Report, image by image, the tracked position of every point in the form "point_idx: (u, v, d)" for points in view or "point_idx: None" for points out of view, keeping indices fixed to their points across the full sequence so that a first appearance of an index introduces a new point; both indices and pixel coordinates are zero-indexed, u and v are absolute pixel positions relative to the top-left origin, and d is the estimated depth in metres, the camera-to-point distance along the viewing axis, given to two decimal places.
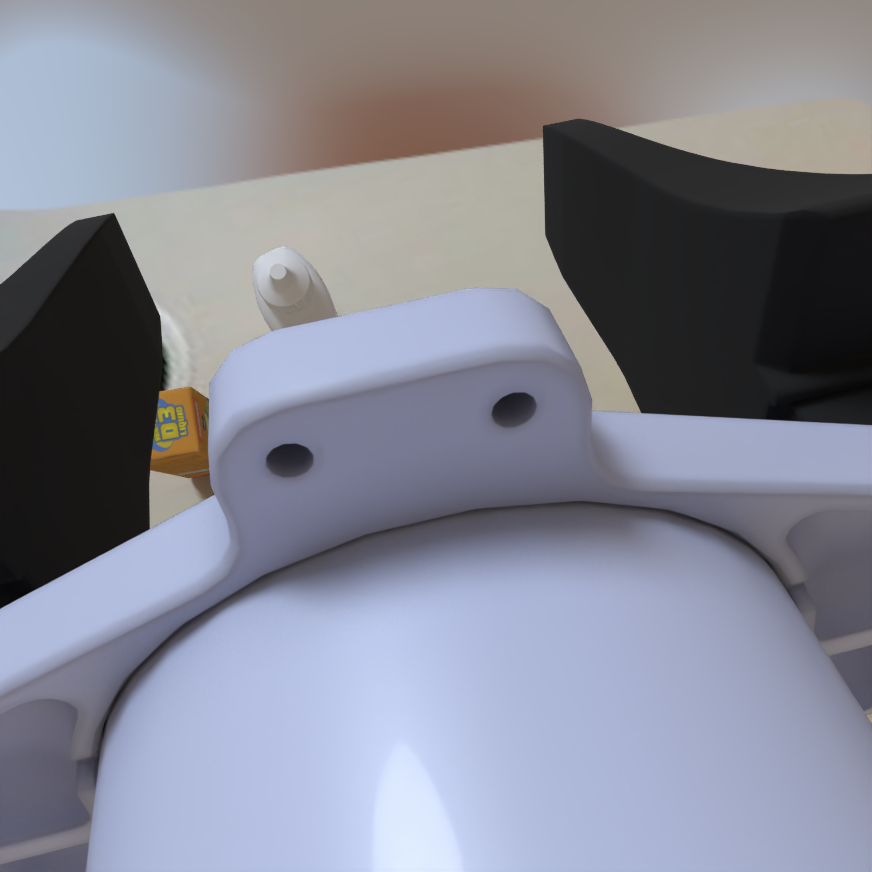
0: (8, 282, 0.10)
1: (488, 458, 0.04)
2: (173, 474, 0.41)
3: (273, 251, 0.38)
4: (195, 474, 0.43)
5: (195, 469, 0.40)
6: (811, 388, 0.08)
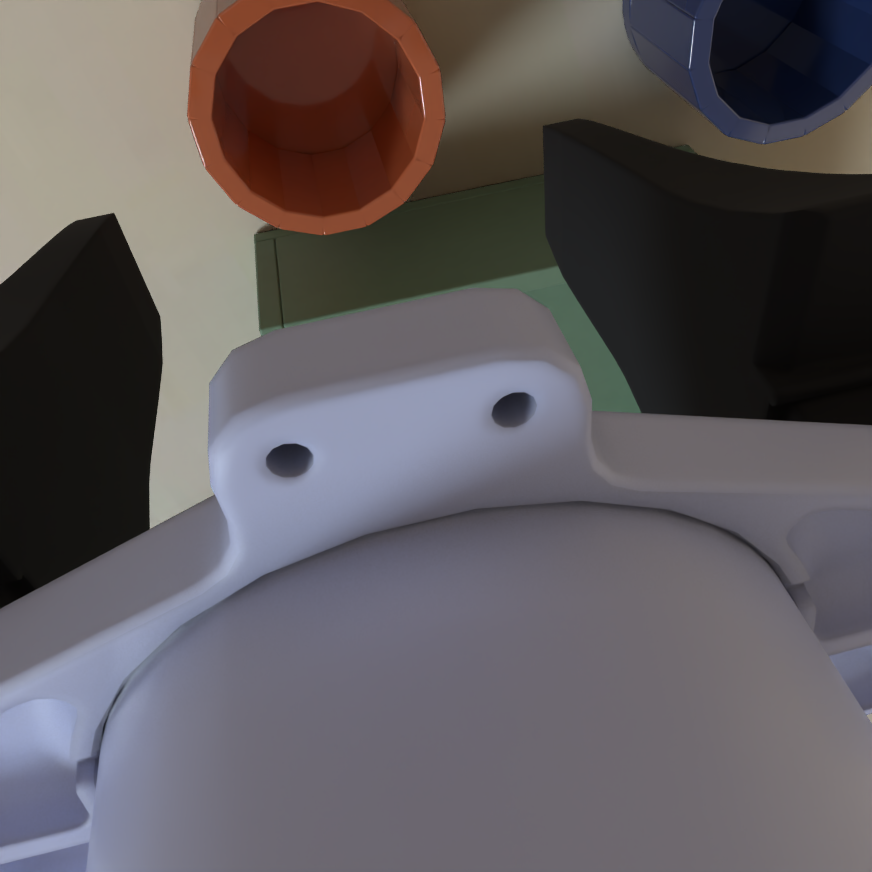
0: (8, 282, 0.10)
1: (488, 458, 0.04)
2: None
3: None
4: None
5: None
6: (811, 388, 0.08)
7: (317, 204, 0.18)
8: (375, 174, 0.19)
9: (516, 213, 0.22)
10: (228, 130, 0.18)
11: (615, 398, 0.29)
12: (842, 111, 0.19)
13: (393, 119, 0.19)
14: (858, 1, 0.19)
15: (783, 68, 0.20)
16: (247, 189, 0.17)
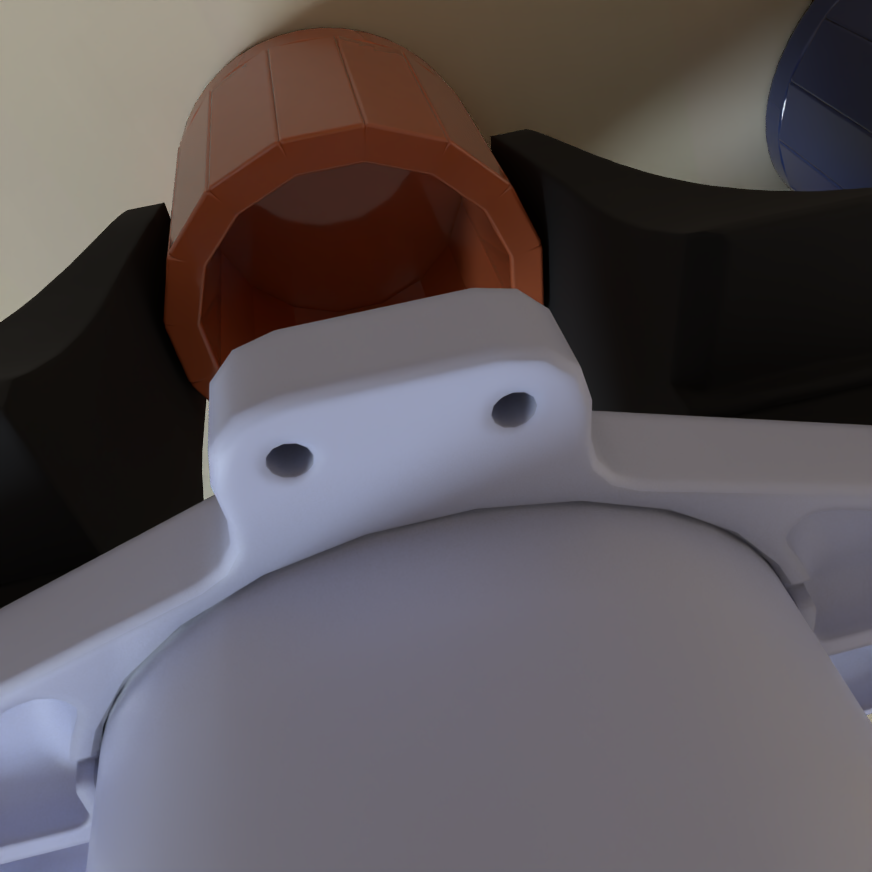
0: (70, 269, 0.10)
1: (488, 459, 0.04)
2: None
3: None
4: None
5: None
6: (726, 407, 0.08)
7: None
8: None
9: None
10: (225, 307, 0.13)
11: None
12: None
13: (455, 276, 0.14)
14: None
15: None
16: None
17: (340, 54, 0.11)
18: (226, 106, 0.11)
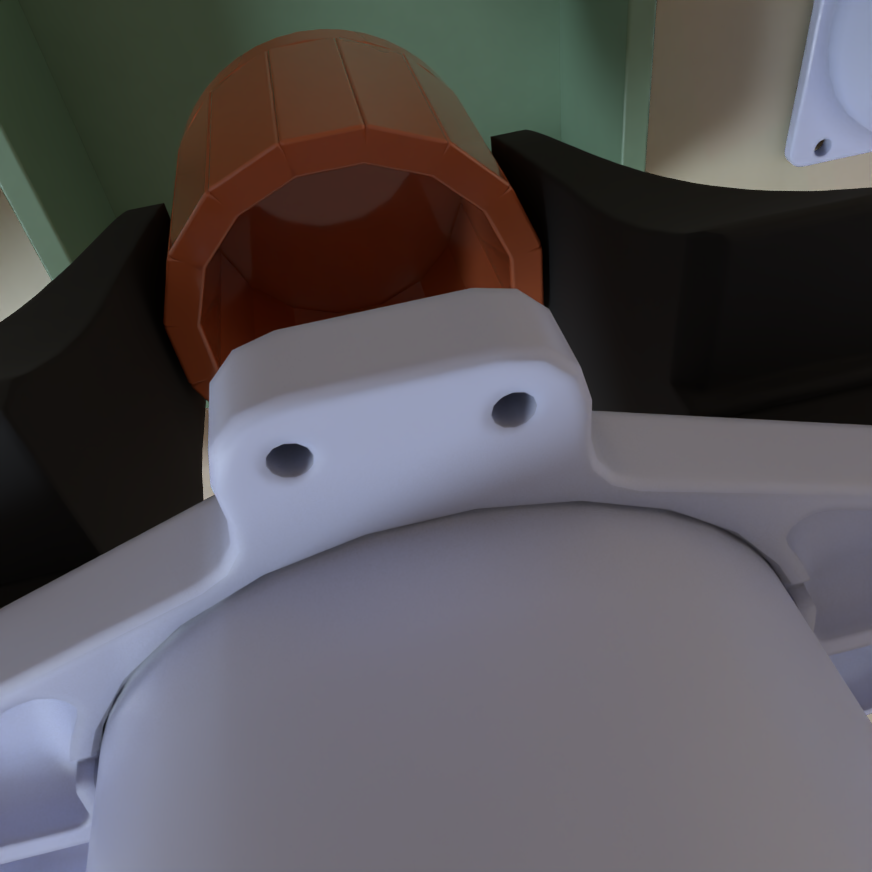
0: (70, 269, 0.10)
1: (488, 459, 0.04)
2: None
3: None
4: None
5: None
6: (726, 408, 0.08)
7: None
8: None
9: None
10: (225, 309, 0.13)
11: None
12: None
13: (455, 277, 0.14)
14: None
15: None
16: None
17: (340, 55, 0.11)
18: (226, 107, 0.11)
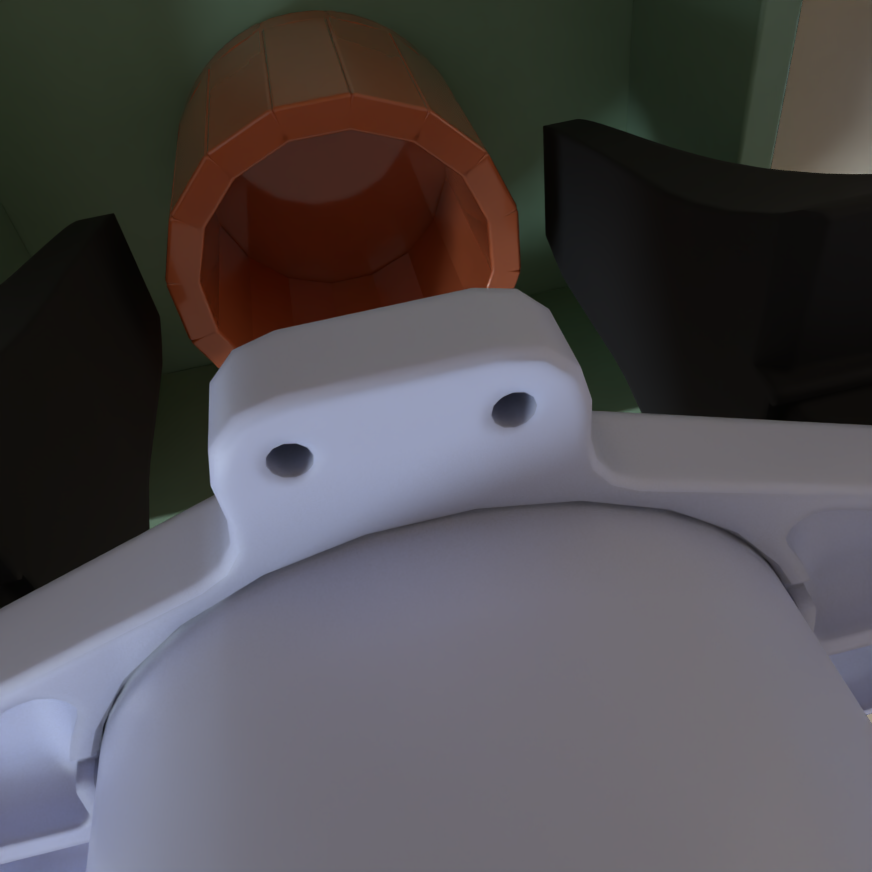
0: (8, 282, 0.10)
1: (488, 458, 0.04)
2: None
3: None
4: None
5: None
6: (811, 388, 0.08)
7: None
8: None
9: None
10: (223, 274, 0.14)
11: None
12: None
13: (440, 247, 0.15)
14: None
15: None
16: None
17: (330, 33, 0.12)
18: (223, 81, 0.12)
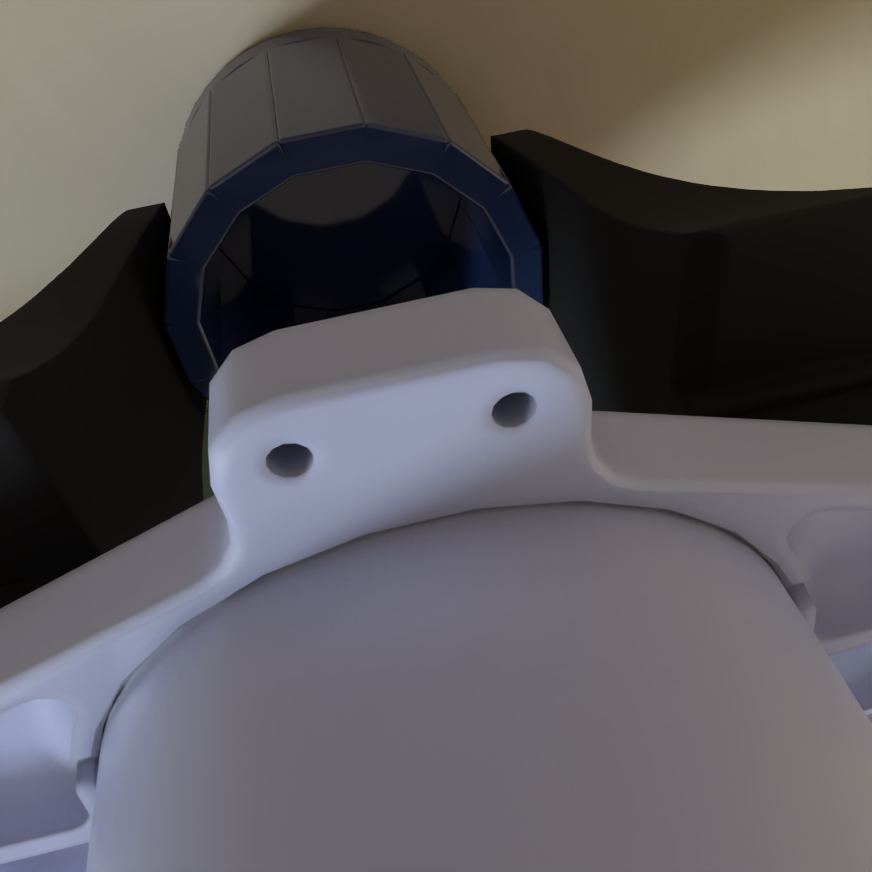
0: (70, 269, 0.10)
1: (488, 458, 0.04)
2: None
3: None
4: None
5: None
6: (726, 408, 0.08)
7: None
8: None
9: None
10: None
11: None
12: None
13: None
14: (488, 252, 0.13)
15: None
16: None
17: None
18: None
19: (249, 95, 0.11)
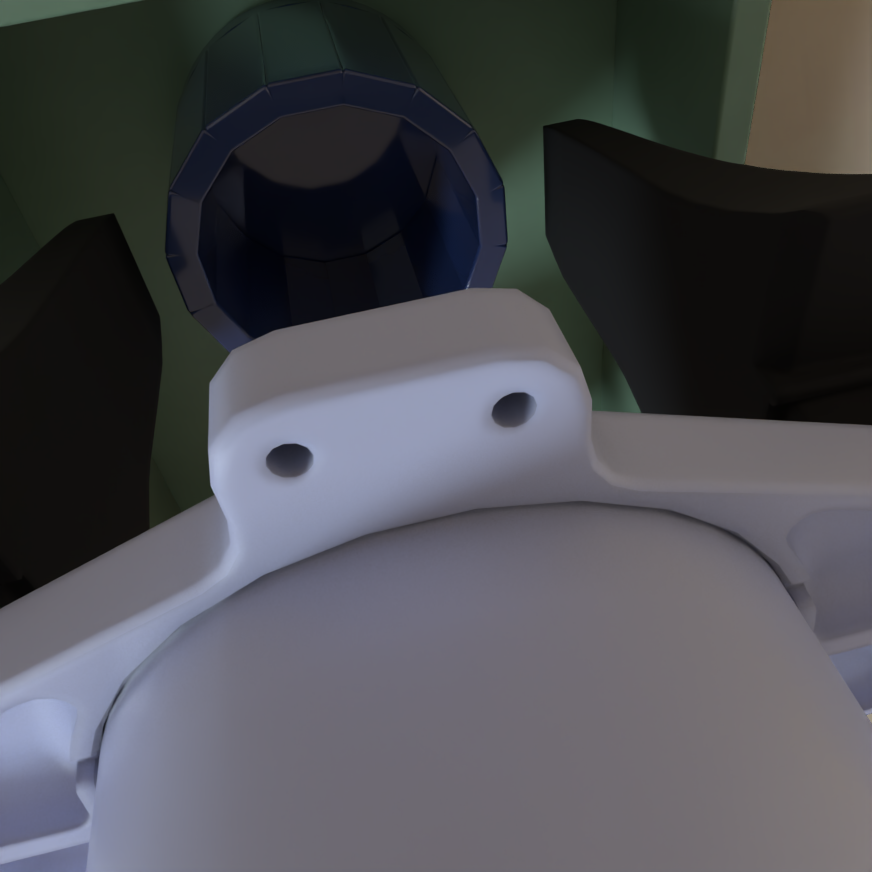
0: (8, 282, 0.10)
1: (487, 458, 0.04)
2: None
3: None
4: None
5: None
6: (811, 388, 0.08)
7: None
8: None
9: None
10: None
11: (547, 293, 0.19)
12: None
13: None
14: (459, 198, 0.14)
15: (404, 266, 0.15)
16: None
17: None
18: None
19: (242, 51, 0.12)
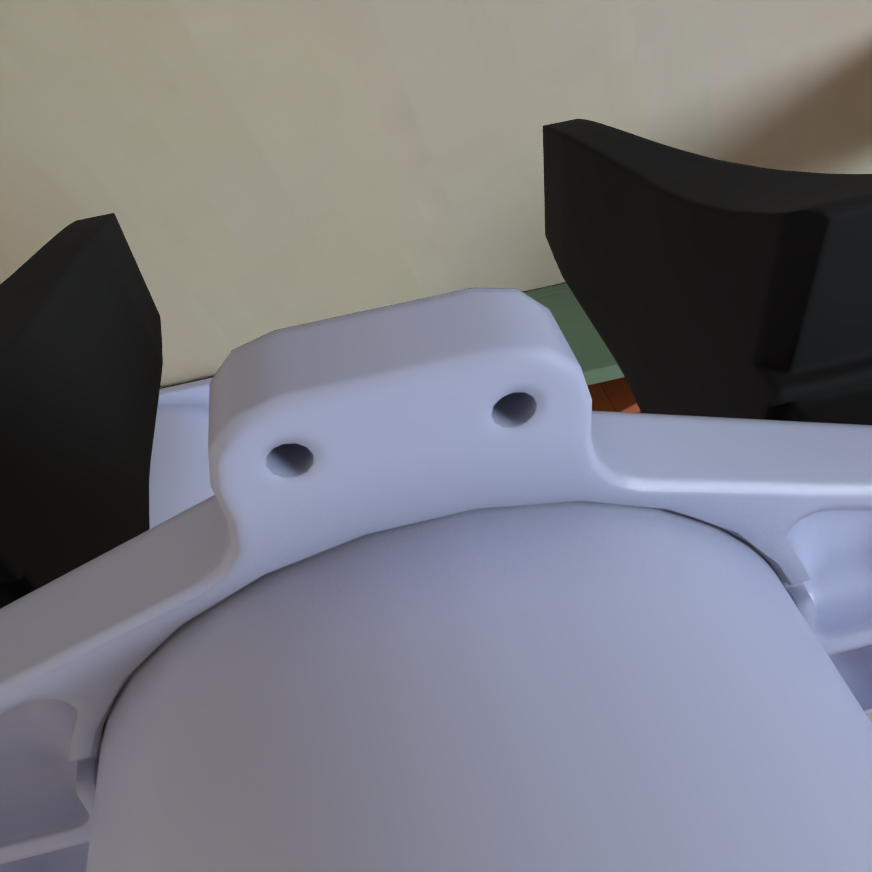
0: (8, 282, 0.10)
1: (488, 459, 0.04)
2: None
3: None
4: None
5: None
6: (811, 388, 0.08)
7: None
8: None
9: None
10: None
11: None
12: None
13: None
14: None
15: None
16: None
17: None
18: None
19: None
